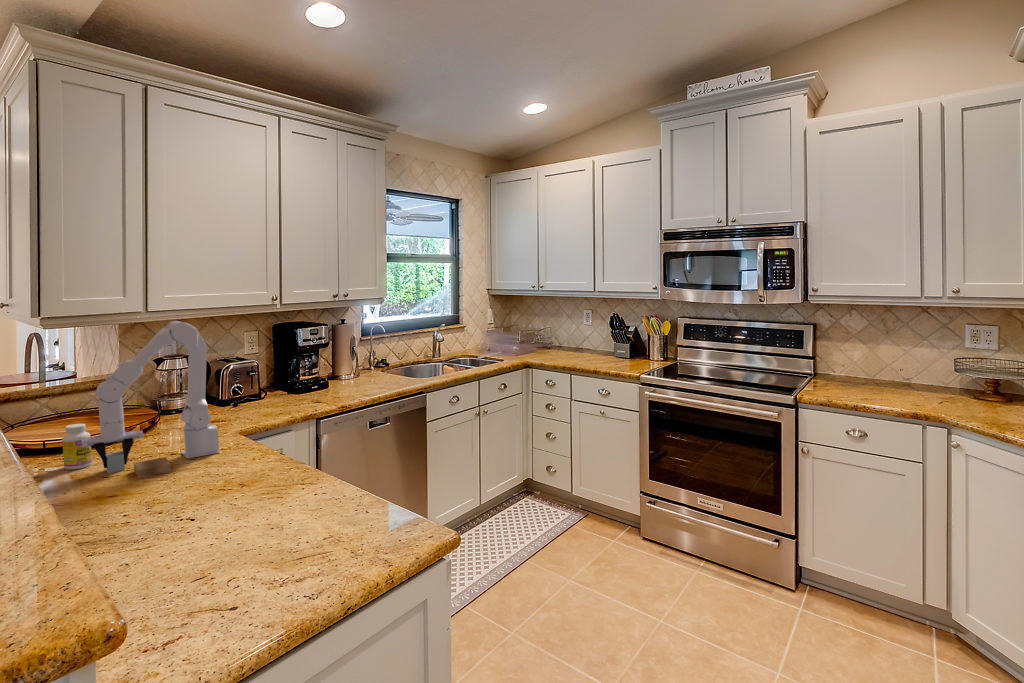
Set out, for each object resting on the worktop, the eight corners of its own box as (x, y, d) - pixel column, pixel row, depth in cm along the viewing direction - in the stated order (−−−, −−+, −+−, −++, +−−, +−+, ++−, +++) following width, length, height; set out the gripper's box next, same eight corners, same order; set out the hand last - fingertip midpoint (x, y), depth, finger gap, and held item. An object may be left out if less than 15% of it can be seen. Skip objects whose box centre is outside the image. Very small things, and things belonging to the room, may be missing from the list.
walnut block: (166, 466, 162) (165, 457, 162) (171, 473, 156) (170, 463, 156) (134, 472, 156) (133, 462, 156) (138, 480, 151) (137, 470, 150)
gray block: (123, 466, 160) (121, 450, 160) (124, 470, 157) (123, 454, 157) (106, 469, 158) (105, 453, 157) (108, 473, 155) (106, 457, 154)
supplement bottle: (76, 471, 156) (73, 429, 155) (58, 469, 157) (54, 427, 156) (98, 463, 163) (95, 423, 161) (80, 462, 164) (77, 422, 163)
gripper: (139, 414, 164) (142, 456, 165) (79, 422, 154) (83, 467, 155) (143, 419, 158) (146, 462, 160) (81, 427, 149) (85, 473, 150)
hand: (115, 465), depth 157 cm, fingers closed on gray block, 4 cm apart
